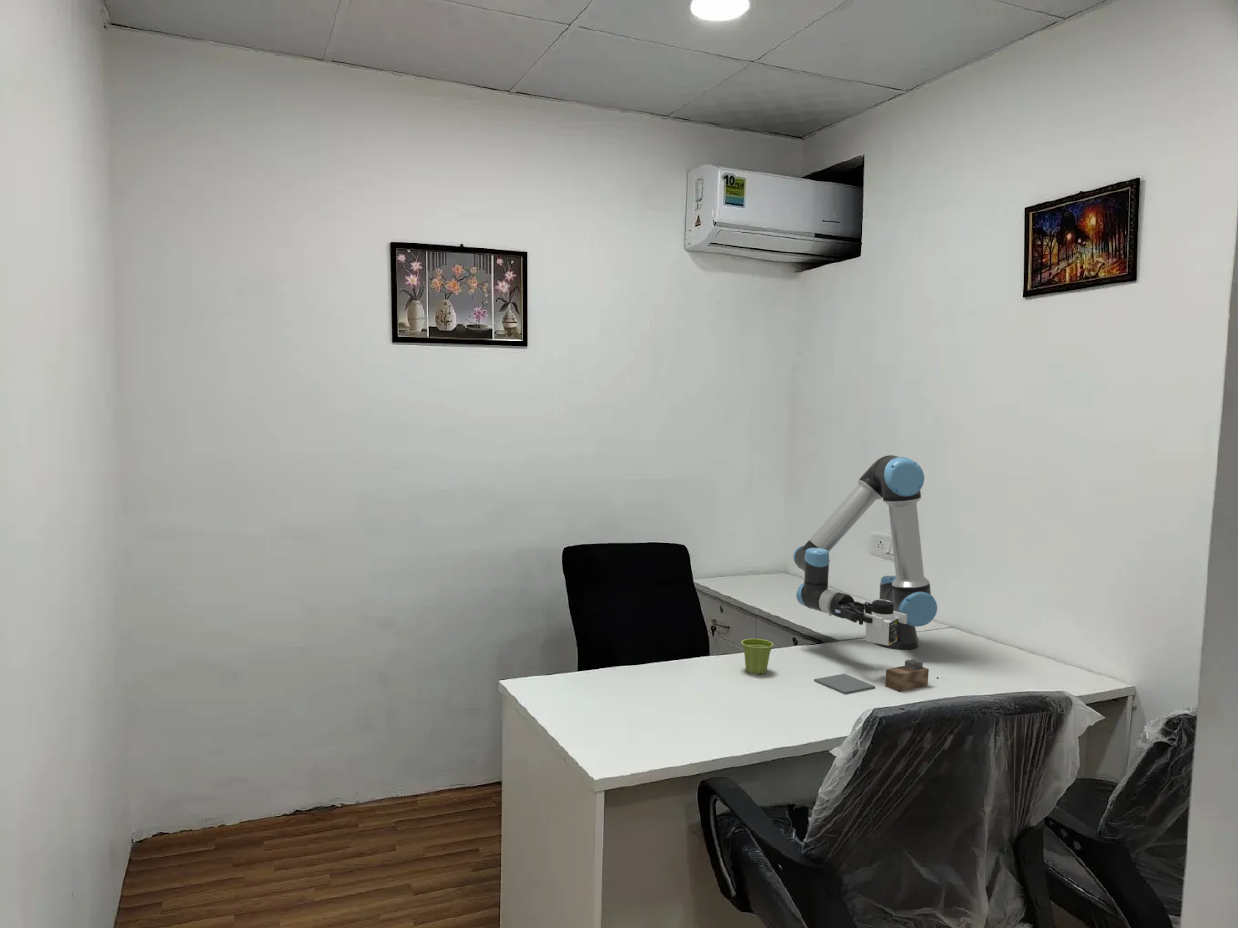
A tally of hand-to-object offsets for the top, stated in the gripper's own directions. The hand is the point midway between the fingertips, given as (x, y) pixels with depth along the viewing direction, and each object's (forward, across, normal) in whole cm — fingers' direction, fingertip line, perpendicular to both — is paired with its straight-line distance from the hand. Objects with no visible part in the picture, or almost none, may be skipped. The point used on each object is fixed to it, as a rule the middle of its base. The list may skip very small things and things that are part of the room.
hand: (894, 621), depth 242 cm
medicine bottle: (-5, 0, -7) cm, 9 cm away
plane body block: (+4, -2, -18) cm, 19 cm away
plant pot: (-25, +30, -18) cm, 43 cm away
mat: (-5, +14, -18) cm, 23 cm away
